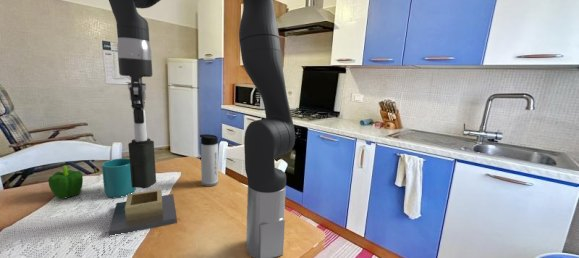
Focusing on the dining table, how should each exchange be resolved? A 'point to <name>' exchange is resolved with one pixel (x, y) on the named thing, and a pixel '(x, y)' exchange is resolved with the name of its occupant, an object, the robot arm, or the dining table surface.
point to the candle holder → (143, 212)
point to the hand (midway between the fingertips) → (139, 121)
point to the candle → (142, 157)
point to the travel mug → (209, 159)
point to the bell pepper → (66, 183)
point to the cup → (117, 177)
